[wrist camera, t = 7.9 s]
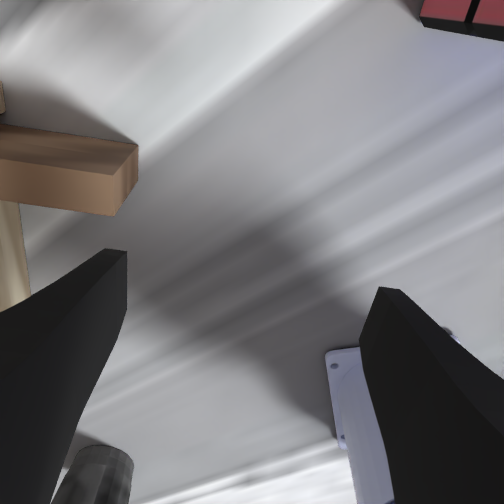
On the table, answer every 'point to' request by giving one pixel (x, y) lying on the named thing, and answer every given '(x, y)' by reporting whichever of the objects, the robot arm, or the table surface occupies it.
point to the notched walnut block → (65, 170)
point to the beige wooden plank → (11, 250)
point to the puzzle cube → (465, 17)
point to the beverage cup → (97, 478)
